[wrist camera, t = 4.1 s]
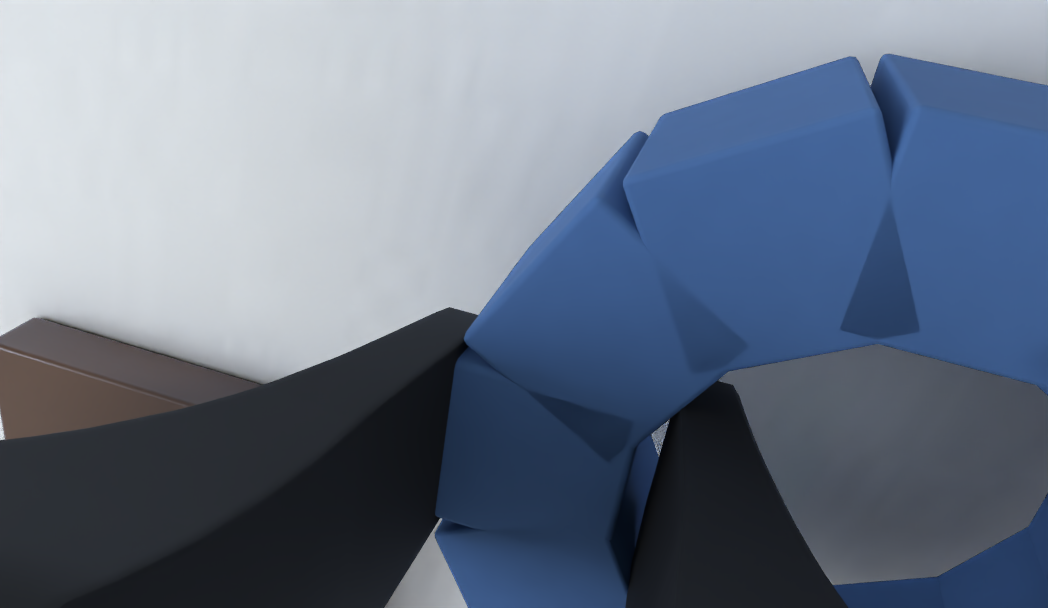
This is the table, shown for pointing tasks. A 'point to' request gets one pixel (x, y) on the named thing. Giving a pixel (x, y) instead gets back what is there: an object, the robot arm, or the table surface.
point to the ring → (746, 311)
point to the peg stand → (93, 381)
